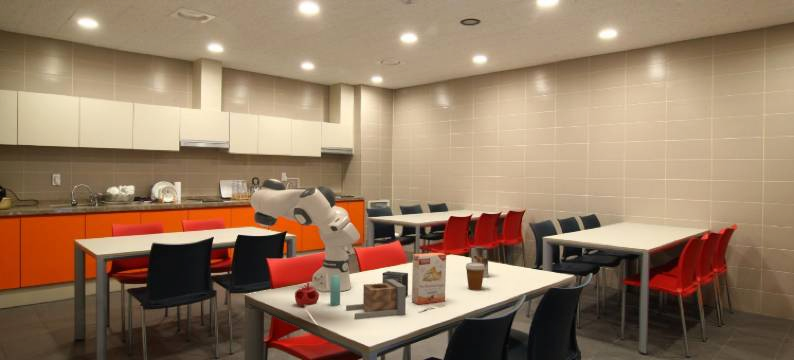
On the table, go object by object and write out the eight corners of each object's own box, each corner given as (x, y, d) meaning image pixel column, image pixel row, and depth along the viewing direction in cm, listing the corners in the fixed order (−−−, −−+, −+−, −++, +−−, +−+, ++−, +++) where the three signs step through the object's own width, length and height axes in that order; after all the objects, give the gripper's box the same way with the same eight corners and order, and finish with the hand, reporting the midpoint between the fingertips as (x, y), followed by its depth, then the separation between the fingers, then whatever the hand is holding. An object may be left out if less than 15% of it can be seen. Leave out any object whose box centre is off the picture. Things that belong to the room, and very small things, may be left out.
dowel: (328, 307, 201) (328, 275, 201) (335, 305, 204) (335, 274, 204) (335, 309, 199) (335, 277, 199) (342, 307, 202) (342, 275, 202)
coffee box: (487, 275, 270) (488, 246, 270) (488, 277, 264) (488, 248, 263) (471, 274, 271) (471, 246, 271) (471, 277, 265) (471, 247, 265)
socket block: (371, 316, 185) (371, 290, 185) (363, 309, 195) (363, 284, 194) (395, 313, 189) (395, 288, 189) (386, 307, 198) (387, 282, 198)
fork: (402, 316, 191) (402, 311, 191) (441, 305, 208) (441, 301, 208) (408, 318, 189) (408, 313, 189) (447, 306, 206) (447, 302, 206)
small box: (408, 295, 223) (408, 272, 223) (402, 298, 217) (403, 275, 217) (387, 292, 228) (388, 270, 228) (381, 295, 222) (381, 272, 222)
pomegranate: (297, 302, 210) (297, 280, 210) (320, 302, 210) (321, 280, 210) (292, 307, 200) (292, 285, 200) (316, 308, 200) (316, 285, 200)
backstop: (342, 323, 179) (342, 291, 179) (333, 313, 192) (333, 283, 192) (405, 317, 188) (405, 286, 188) (392, 308, 201) (392, 279, 201)
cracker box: (418, 305, 206) (418, 256, 206) (411, 301, 211) (411, 253, 211) (446, 301, 213) (446, 253, 212) (438, 298, 218) (439, 251, 218)
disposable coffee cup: (462, 289, 235) (463, 265, 235) (467, 285, 244) (468, 262, 244) (482, 291, 231) (482, 266, 231) (486, 287, 240) (486, 263, 240)
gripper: (311, 233, 194) (331, 260, 196) (339, 225, 178) (360, 255, 181) (322, 224, 198) (341, 250, 200) (350, 215, 182) (370, 244, 185)
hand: (350, 252), depth 191 cm, fingers closed
